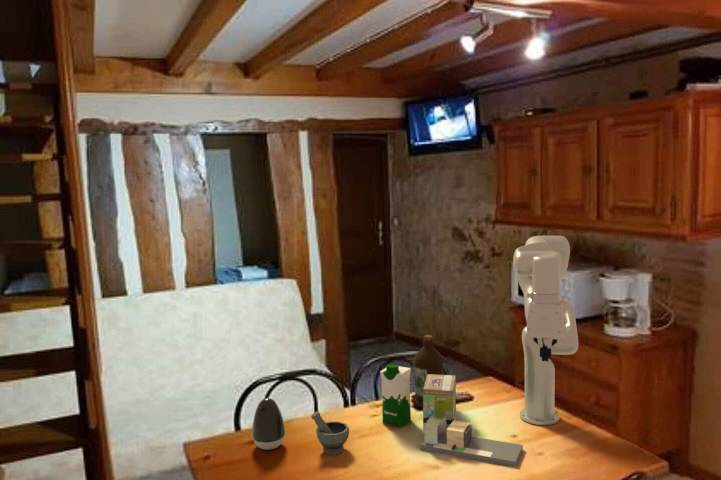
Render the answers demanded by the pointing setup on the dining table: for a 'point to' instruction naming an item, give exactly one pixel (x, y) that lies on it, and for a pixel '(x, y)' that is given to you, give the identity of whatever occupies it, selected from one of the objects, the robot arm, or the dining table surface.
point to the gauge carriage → (459, 434)
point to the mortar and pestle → (331, 434)
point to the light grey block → (435, 429)
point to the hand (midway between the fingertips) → (545, 360)
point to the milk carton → (395, 395)
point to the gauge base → (481, 450)
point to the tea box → (439, 397)
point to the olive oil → (426, 366)
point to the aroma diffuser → (268, 425)
